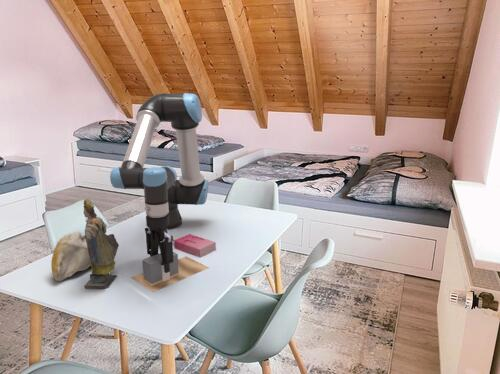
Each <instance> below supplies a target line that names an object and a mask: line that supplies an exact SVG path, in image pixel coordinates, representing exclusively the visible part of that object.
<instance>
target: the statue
mask: <svg viewBox="0 0 500 374" xmlns="http://www.w3.org/2000/svg"><path fill="white" fill-rule="evenodd" d="M83 215H84V217H85V228H84V235H81V236H82V237H80V239H81V240H82V241H83V240H84V239H86V243H87V248H88V253H89V256H90V260H91V266H90V267H91V273H90V274H89V280H88V281H87V283H86V284H85V285H84V289H87V290H89V289H90V290H91V289H93V290H94V289H95V290H97V289H98V290H100V289H101V290H102V289H105V290H106V289H108V288H109V287H110V286H111V285H112V283H113V282H114V281H115V280H116V278H117V274H113V273H112V274H111V272H112V271H113V270H114V269H115V267H116V266H115V265H116V262H115V259H116V256H117V252H118V249H119V246H120V245H119V242H118V241H117V238H116V237H115V234H114V233H110V234H107V224H106V223H105V222H104V220H103V218H101V216H97V215H98V214H97V213H96V212H95V204H94V203H93V202H92V200H90V199H89V198H85V199H84V200H83Z"/></svg>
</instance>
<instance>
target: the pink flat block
mask: <svg viewBox="0 0 500 374" xmlns="http://www.w3.org/2000/svg"><path fill="white" fill-rule="evenodd" d="M172 242H173V245H174V246H173V247H174V248H173V249H175V250H178V251H182V252H185V253H187V254H190V255H192V256H194V257H198V258H202V257H205V256H207V255H208V254H211V253H212V252H214V251H216V250H217V245H216V243H217V242H216V241H214V240H213V241H212V240H210V239H208V238H204V237H201V236H197V235H194V234H191V233H189V234H186V235H183V236H182V237H173V241H172Z"/></svg>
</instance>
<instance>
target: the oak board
mask: <svg viewBox="0 0 500 374" xmlns="http://www.w3.org/2000/svg"><path fill="white" fill-rule="evenodd" d="M207 269H210V267H209V266H207V265H205V264H203V263H201V262H198V261H196V260H194V259H193V258H190V257H188V256H183V257H181V258H178V270H179V275H177V276H175V277H172V278H170V279H169V280H167V281H164V282H160V283H158V284H156V285H153V286H151V285H149V284H148V283H146V282H145V281H144V277H143V272H142V273H139V274H137V275H133V276H132V277H130V279H132V280H134V281H135V282H137V283H138V284H139V285H142V286H143V287H145V288H146V289H147V290H149V291H150V292H153V293H155V292H156V291H160V290H161V289H163V288H166V287H168V286H170V285H172V284H175V283H178V282H181V281H182V280H185V279H186V278H190V277H191V276H194V275H196V274H198V273H201V272H202V271H205V270H207Z"/></svg>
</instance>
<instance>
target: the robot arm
mask: <svg viewBox="0 0 500 374" xmlns="http://www.w3.org/2000/svg"><path fill="white" fill-rule="evenodd" d="M202 113H203V109H202V104H201V100H200V98H199V97H198V95H197V94H195V93H188V92H184V93H182V92H181V93H178V92H177V93H176V92H175V93H174V92H173V93H172V92H171V93H165V92H162V93H157V94H153V95H152V96H150V97H149V98H148V99H146V100H145V101H144V102H143V103H142V104H141V105H140V107H139V109H138V110H137V113H136V115H135V118H136V119H135V120H136V123H135V126H134V129H133V132H132V135H131V138H130V141H129V143H128V147H127V149H126V153H125V155H124V158H123V161H122V163H121V166H117V167H113V168H112V169H111V171H110V174H109V180H110V184H111V186H112V187H113V188H114V189H118V190H119V189H121V190H143V194H144V203H145V208H144V210H145V222H146V223H145V224H146V227H145V228H144V233H145V240H146V254H147V255H149V257H151V256H154V255H157V254H159V252H160V253H161V258H162V263H161V271H162V281H163V282H164V281H167V280H169V279H170V265H169V264H170V263H173V262H174V260H173V252H174V248H173V247H174V246H173V245H174V243H173V242H174V241H173V238H174V236H173V235H169V234H168V230H171V229H172V230H173V229H176V228H179V227H181V226H182V225H183V219H182V215H181V212H180V210H179V207H178V205H195V206H199V205H201V206H202V205H205V204H206V202H207V198H208V195H209V194H208V193H209V180H207V179H205V177H204V175H203V174H202V173H201V166H200V157H199V148H198V146H199V145H198V137H197V128H198V126H199V125H200V123H201V121H202V120H203V114H202ZM163 122H165V123H170V124H171V128H172V129H173V130H175V137H176V143H177V149H178V150H177V151H178V158H179V166H180V172H181V176H180V177H179V179H178V174H177V171H176V170H175V169H174V168H173V167H171V166H169V165H164V166H161V167H159V166H157V167H155V166H153V167H144V166H145V163H146V159H147V157H148V154H149V151H150V147H151V144H152V141H153V137H154V134H155V131H156V128H158V127H159V126H160V125H161V123H163Z"/></svg>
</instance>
